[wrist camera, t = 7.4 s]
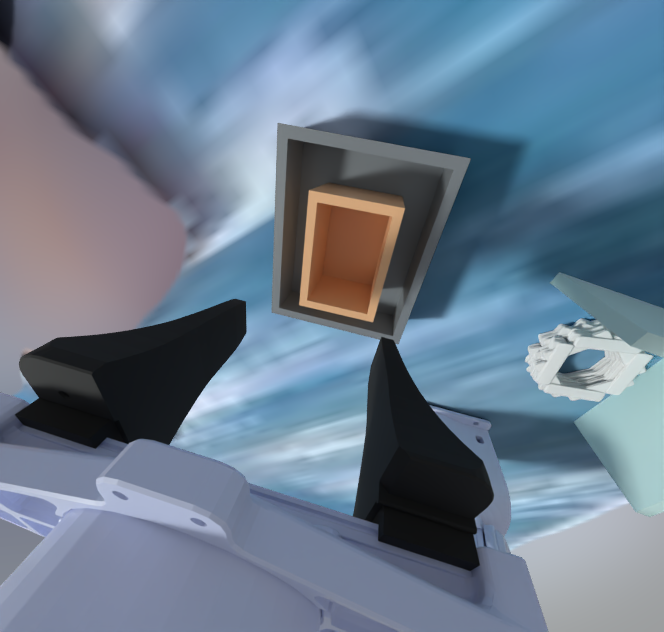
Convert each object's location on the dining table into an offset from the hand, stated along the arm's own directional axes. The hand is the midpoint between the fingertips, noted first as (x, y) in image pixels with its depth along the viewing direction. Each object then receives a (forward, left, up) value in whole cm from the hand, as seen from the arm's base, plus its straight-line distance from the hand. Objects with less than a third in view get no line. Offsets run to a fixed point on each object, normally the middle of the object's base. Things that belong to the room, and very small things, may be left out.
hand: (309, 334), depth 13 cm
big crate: (-1, -3, -9) cm, 10 cm away
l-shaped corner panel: (-20, +3, -10) cm, 23 cm away
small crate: (-1, -3, -9) cm, 9 cm away
